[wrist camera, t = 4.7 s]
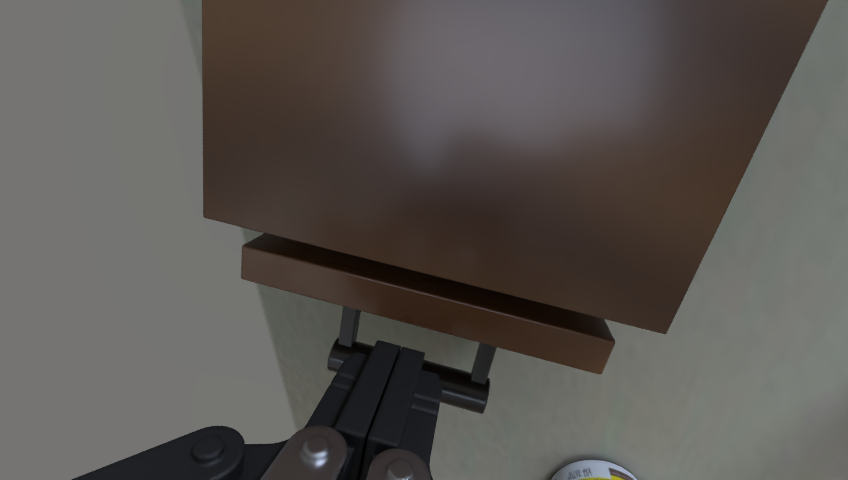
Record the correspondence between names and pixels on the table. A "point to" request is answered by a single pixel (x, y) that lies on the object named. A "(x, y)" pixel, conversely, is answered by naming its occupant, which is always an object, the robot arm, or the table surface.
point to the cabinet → (497, 134)
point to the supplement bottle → (592, 471)
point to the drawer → (429, 312)
